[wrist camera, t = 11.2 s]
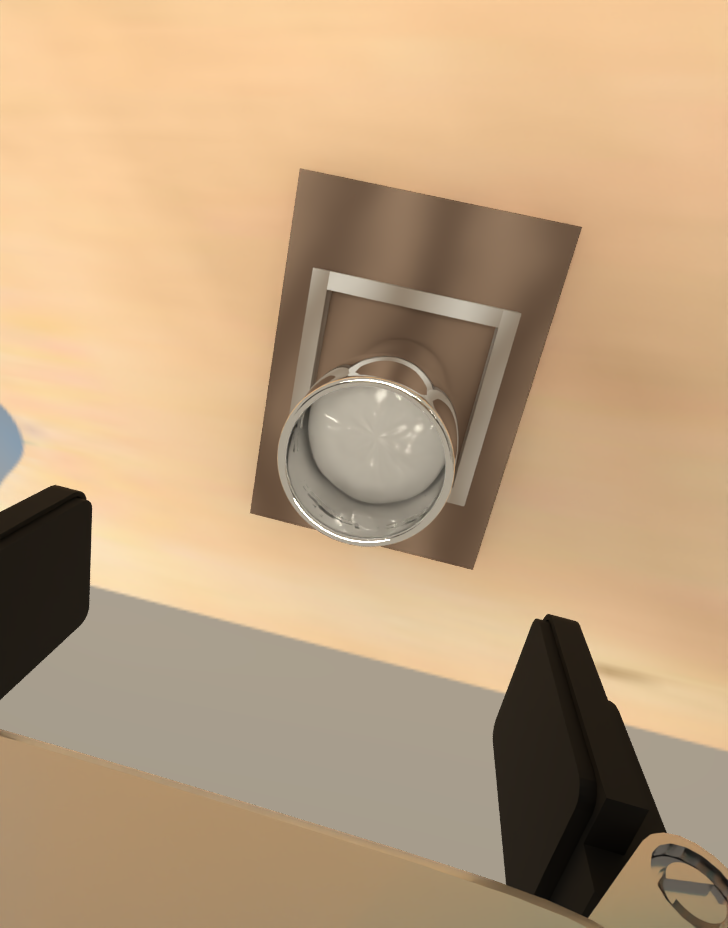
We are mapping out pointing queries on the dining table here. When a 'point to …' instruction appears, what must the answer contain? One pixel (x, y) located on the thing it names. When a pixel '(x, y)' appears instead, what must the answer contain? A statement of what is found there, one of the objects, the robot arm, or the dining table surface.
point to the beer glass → (372, 446)
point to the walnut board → (417, 325)
